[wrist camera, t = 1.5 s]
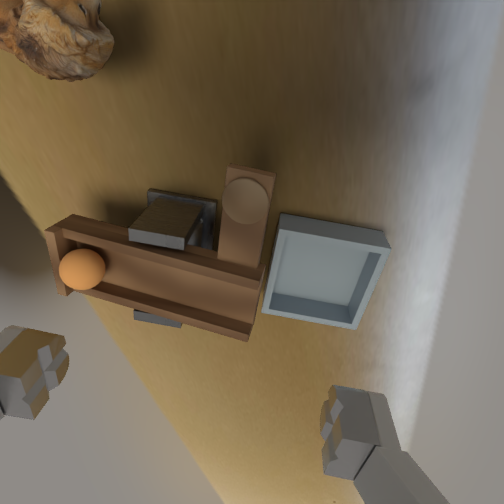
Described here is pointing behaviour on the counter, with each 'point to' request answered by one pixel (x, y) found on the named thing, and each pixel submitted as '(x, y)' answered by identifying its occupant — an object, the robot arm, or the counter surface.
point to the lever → (182, 262)
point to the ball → (82, 269)
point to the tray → (323, 271)
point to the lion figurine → (56, 36)
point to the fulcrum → (174, 230)
